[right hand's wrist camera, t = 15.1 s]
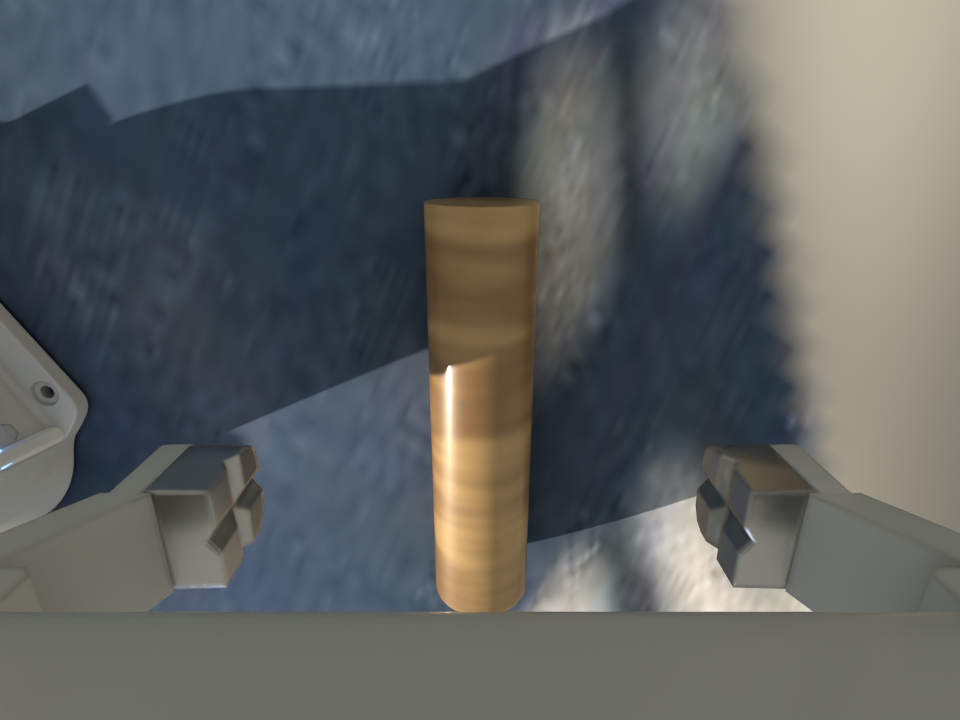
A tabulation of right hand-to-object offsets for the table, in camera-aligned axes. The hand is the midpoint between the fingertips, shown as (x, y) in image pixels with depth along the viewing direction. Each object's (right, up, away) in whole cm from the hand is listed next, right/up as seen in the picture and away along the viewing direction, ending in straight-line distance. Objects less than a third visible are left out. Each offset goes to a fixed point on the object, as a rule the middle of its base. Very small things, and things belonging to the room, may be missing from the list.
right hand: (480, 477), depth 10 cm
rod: (0, 0, +26) cm, 26 cm away
